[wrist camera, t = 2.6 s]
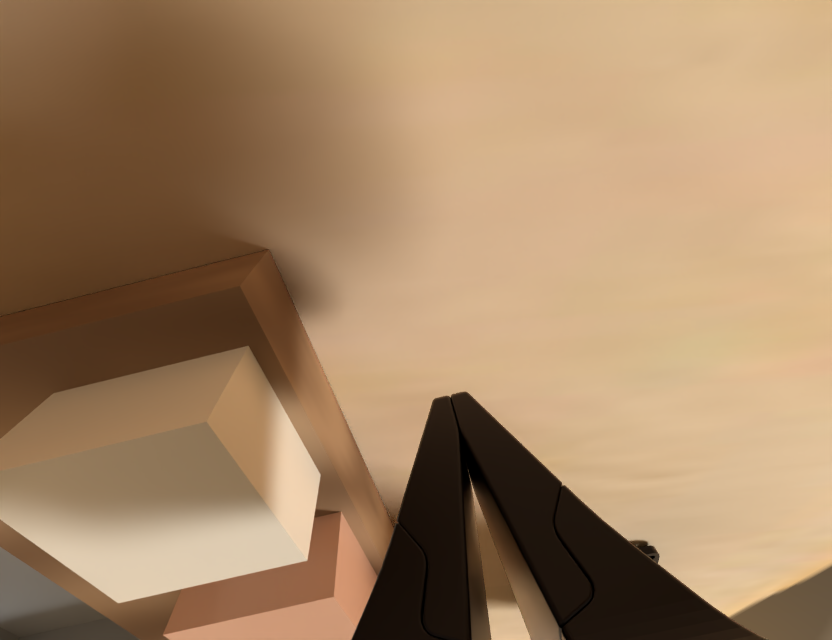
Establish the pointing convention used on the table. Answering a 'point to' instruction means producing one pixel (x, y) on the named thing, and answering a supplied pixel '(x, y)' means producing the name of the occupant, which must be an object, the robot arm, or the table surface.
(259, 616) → the terracotta tile
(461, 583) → the robot arm
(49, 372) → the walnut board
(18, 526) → the cream tile
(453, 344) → the table surface
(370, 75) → the table surface
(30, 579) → the grey tray
